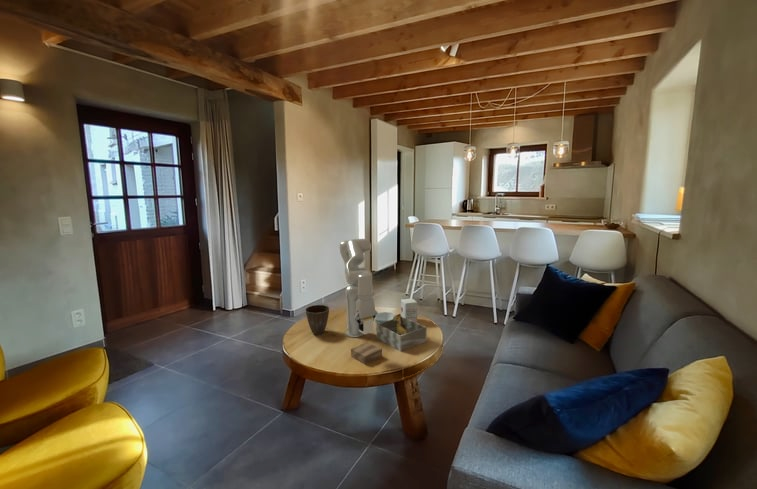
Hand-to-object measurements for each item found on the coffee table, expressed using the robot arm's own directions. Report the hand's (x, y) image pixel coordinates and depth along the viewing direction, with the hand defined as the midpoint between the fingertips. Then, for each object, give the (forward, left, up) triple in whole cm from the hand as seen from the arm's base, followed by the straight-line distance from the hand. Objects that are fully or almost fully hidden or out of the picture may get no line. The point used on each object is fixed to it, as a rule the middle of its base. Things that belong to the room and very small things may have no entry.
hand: (366, 328), depth 184 cm
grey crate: (-5, +29, -16) cm, 34 cm away
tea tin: (0, 0, -2) cm, 2 cm away
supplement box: (-24, +52, -17) cm, 60 cm away
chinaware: (-26, +33, -17) cm, 45 cm away
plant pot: (-46, -6, -17) cm, 49 cm away
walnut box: (0, 0, -17) cm, 17 cm away
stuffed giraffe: (-5, +29, -16) cm, 34 cm away
